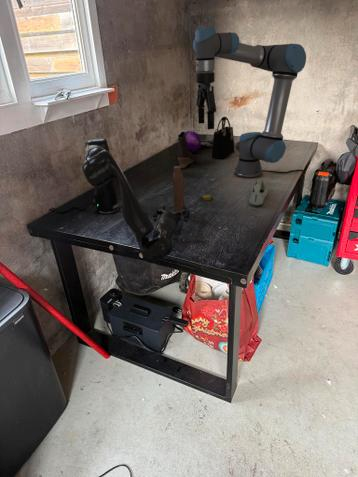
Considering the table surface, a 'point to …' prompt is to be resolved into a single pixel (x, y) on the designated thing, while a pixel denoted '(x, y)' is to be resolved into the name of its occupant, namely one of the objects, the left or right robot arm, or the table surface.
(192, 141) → the decorative orb
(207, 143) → the pair of gloves
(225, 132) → the handbag
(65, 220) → the table surface
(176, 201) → the bottle
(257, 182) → the ballet flat
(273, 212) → the table surface
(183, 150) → the boot
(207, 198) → the cap
